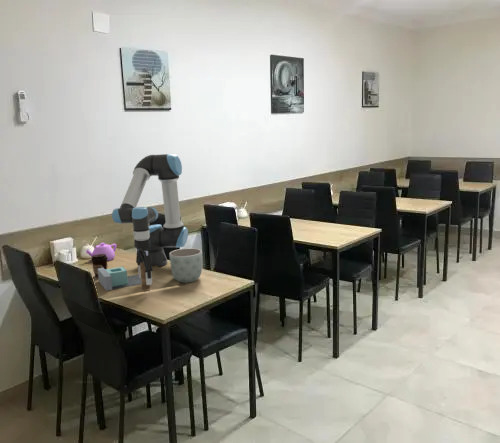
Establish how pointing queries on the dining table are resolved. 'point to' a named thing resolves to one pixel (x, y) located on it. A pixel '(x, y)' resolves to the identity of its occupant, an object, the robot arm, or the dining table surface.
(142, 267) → the dowel
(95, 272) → the coffee cup
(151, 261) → the robot arm
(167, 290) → the dining table surface
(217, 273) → the dining table surface
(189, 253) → the planter
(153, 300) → the dining table surface
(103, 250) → the teapot
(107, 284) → the jig
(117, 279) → the block
